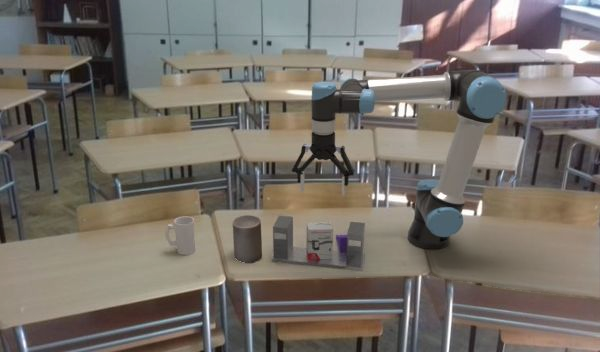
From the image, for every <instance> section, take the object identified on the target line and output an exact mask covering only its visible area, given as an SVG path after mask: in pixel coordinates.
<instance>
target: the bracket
mask: <svg viewBox="0 0 600 352" xmlns="http://www.w3.org/2000/svg"><path fill="white" fill-rule="evenodd" d="M335 237H336V238H335V239H336V243H337V247H338V251H345V252H347V234H337V235H336V236H335Z"/></svg>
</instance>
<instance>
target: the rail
mask: <svg viewBox="0 0 600 352" xmlns="http://www.w3.org/2000/svg"><path fill="white" fill-rule="evenodd" d="M365 228H366V223H365V222H359V221H350V222H349V226H348V231H347V234H346V235H347V252H345V251H339V250H333V251H332V259H319V260H308V257H307V247H304V246H303V247H302V246H301V247H300V246H294V217H293V216H288V215H278V216H277V218H276V220H275V222H274V224H273V227H272V238H273V239H272V240H273V241H272V245H273V246H272V247H273V249H272V251H273V252H272V253H273V255H272V258H271V263H276V264H277V263H279V264H280V263H281V264H287V265H289V264H290V265H298V266H299V265H300V266H308V267H318V268H327V269H328V268H329V269H338V270H349V271H357V272H359V271H360V272H363V270H364V263H365V258H366V253H364V250H365V234H366V233H365V230H366V229H365Z"/></svg>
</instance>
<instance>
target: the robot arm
mask: <svg viewBox="0 0 600 352" xmlns="http://www.w3.org/2000/svg"><path fill="white" fill-rule="evenodd" d="M429 99H432V100H433V99H443V100H445V101H446V102H447V101H451V102H452V101H454V102H459V103H458V107H457V109H456V115H457V118H458V122H457V125H456V127H455V132H454V134H453V137H452V141H451V144H450V147H449V149H448V153H447V154H446V155H447V156H446V159H445V162H444V165H443V168H442V171H441V174H440V177H439V179H432V178H431V179H430V178H427V179H422V180H420V181H418V182H417V185H416V190H415V192H416V193H415V204H414V217H413V221H412V222H411V225H410V227H409V229H408V231H407V240H408V241H409V243H411V244H412V245H414V246H416V247H419V248H421V249H424V250H425V249H427V250H440V249H443V248H446V247H448V245H449V244H450V240H451V236H453V235H456V234H457V233H458V232H460V230H462V228H463V225H464V216H463V214H462V213H463V209H464V207H465V205H466V204H465V203H466V198H465V196H464V195H463V194H464V193H465V192H464V191H465V189H466V187H467V183H468V180H469V178H470V175H471V172H472V168H473V166H474V163H475V160H476V157H477V154H478V151H479V148H480V147H481V146H480V145H481V143H482V139H483V137H484V134H485V131H486V129H487V127H489V126H490V125H492V124H493V123H494V122H495V121H494V120H495V117H496V116H497V115H499V114H500V113H501V112H502V111H503V110H504V108H505V106H506V104H507V92H506V89H505V87H504V86H503V85H502V83H501V82H500V81H499V80H498V79H496V78H495V77H493V76H491V75H489V74H488V73H486V72H485V71H483V70H479V69H461V70H452V71H445V72H444V73H443V74H437V75H425V76H424V75H422V76H405V77H404V76H403V77H388V78H387V77H386V78H374V79H357V78H355V77H354V78H353V77H350V78H346V79H345V80H344V81H342V83H341V84H340V88H337V85H336V83H334V82H330V81H329V82H328V81H319V82H316V83H314V84H313V85H312V86H311V131H312V132H311V145H307V144H306V143H303V144H302V146H301V150H300V153H299V155H298V158H297V159H296V162H295V164H294V165H293V167H292V168H291V172H292V173H296V174H297V183H298V184H299V183H300V194H303V193H304V192H305V170H306V168H308V166H310V164H311V163H312V162H313V161H315V159H317V161H322V160H324V161H328V160H330V161H331V162H332V163H333V164H334V166H335V167H336V168H337V169H338V171H340V173H341V174H342V176H341V196H342V197H344V196H345V194H346V192H345V191H346V187H348V185H349V177H350V176H354V174H355V169H354V167H353V165H352V163H351V161H350V159H349V157H348V155H347V153H346V147H345V146H344V145H341V146H336V132H335V131H336V114H343V115H344V114H346V115H347V114H350V115H351V114H352V115H355V114H356V115H359V114H360V115H365V114H372V113H373V112H374V110H375V104H376V102H377V103H379V102H394V101H395V102H396V101H398V102H399V101H413V100H415V101H416V100H429ZM309 150H310V152H311V155H310V156H309V158H308V159H306V161H305V162H304V163H303V164H302V165H300V163H301V161H302V160H303V158H304V156H305V154H306V153H308V152H309ZM336 152H338V155H340V157H341V159H342V162H343V163H344V165H345V166H344V165H343V163H342V162H341V161H340V160H339V159H338V157H337V155H336V154H335V153H336ZM299 166H300V167H299Z"/></svg>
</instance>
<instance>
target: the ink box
mask: <svg viewBox="0 0 600 352" xmlns="http://www.w3.org/2000/svg"><path fill="white" fill-rule="evenodd" d="M333 243H334V227H333V224H332V222H330V221H329V222H326V221H325V222H324V221H323V222H321V221H317V222H308V223H306V248H307V257H308V260H319V259H332V251H333V248H334V247H333V246H334V245H333Z"/></svg>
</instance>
